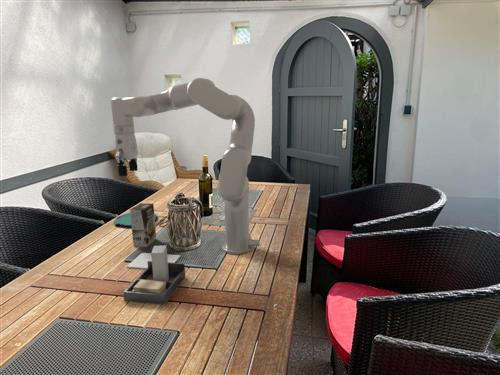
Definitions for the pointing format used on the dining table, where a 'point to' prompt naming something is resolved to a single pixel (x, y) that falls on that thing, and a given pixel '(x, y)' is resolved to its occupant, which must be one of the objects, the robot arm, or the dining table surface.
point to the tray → (174, 271)
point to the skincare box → (160, 263)
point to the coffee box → (143, 225)
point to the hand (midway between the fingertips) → (128, 173)
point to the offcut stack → (150, 287)
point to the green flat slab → (126, 220)
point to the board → (145, 257)
